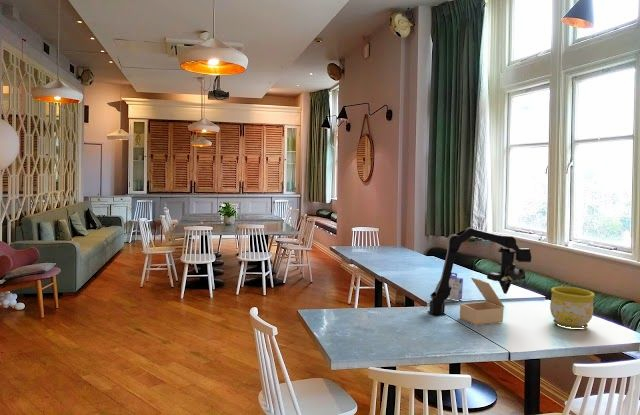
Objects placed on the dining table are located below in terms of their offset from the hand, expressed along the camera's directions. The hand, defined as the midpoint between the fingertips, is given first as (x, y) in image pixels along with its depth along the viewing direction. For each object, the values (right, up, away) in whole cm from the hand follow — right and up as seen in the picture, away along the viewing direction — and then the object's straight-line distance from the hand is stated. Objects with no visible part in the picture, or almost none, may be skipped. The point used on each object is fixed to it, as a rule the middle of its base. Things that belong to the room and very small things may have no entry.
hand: (505, 293), depth 239 cm
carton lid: (-10, +1, -4) cm, 11 cm away
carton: (-13, -12, -4) cm, 18 cm away
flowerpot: (+27, -14, -8) cm, 31 cm away
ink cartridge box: (-17, -9, +32) cm, 37 cm away
